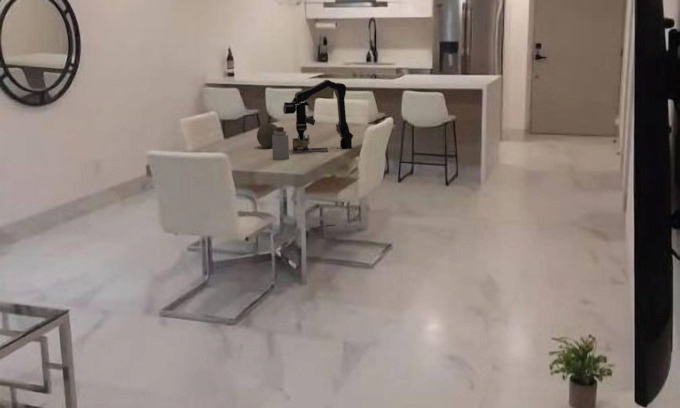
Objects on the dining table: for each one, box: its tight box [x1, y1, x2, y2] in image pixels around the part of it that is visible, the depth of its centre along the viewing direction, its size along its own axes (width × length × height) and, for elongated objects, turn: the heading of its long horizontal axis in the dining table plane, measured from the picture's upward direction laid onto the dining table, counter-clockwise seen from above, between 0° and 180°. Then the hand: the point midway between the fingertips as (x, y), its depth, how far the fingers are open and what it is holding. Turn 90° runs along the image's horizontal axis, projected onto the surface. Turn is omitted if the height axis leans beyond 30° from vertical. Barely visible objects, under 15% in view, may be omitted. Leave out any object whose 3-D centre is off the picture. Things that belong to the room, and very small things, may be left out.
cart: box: [292, 134, 311, 151], centre depth 453 cm, size 10×12×8 cm
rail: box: [292, 147, 329, 154], centre depth 454 cm, size 21×11×1 cm, turn 94°
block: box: [297, 134, 306, 141], centre depth 453 cm, size 4×4×4 cm
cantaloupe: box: [256, 123, 278, 149], centre depth 467 cm, size 14×14×15 cm
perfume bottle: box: [271, 126, 290, 161], centre depth 430 cm, size 7×7×18 cm
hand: (301, 138), depth 452 cm, fingers open, 9 cm apart
